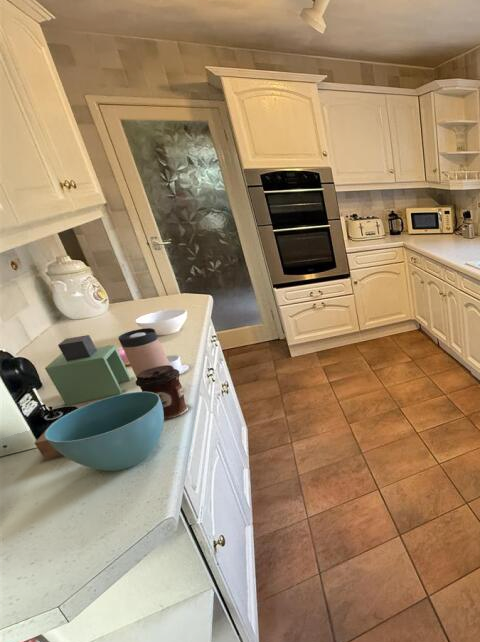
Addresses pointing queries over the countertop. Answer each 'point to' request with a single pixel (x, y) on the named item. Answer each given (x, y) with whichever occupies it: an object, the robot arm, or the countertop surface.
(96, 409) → the blue dish
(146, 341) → the travel mug
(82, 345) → the black block
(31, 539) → the countertop surface
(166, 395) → the coffee cup
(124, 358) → the doughnut
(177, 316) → the bowl
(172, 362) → the teacup
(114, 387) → the high shelf
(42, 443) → the low shelf
